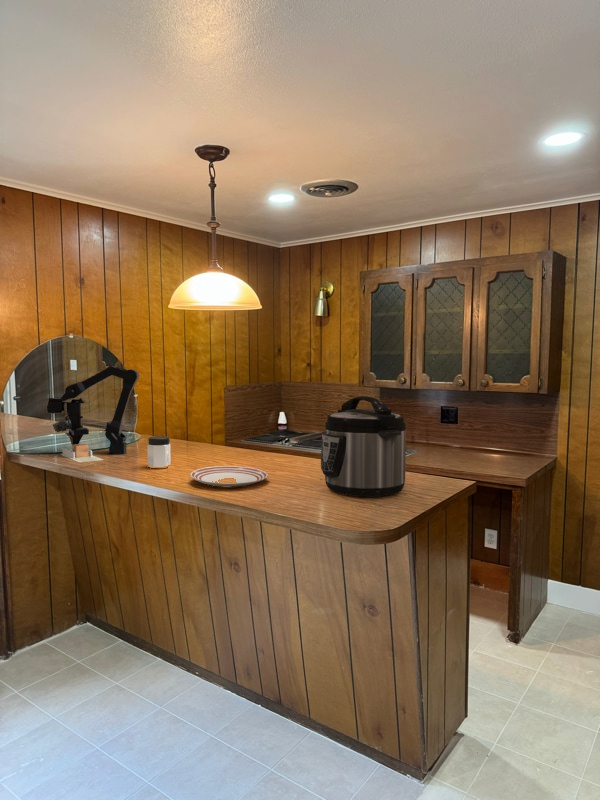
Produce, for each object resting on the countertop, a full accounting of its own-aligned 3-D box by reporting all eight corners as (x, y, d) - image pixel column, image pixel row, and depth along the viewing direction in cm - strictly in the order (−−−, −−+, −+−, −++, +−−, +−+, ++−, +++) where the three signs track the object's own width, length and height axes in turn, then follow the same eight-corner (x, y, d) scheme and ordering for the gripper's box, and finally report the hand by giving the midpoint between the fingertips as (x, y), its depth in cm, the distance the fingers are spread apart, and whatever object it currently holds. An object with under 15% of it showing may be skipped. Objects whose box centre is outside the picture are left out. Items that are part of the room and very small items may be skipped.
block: (72, 456, 236) (72, 444, 235) (84, 455, 239) (84, 443, 238) (76, 457, 232) (76, 446, 231) (88, 456, 235) (88, 445, 235)
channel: (59, 457, 240) (59, 448, 240) (83, 455, 247) (83, 446, 247) (79, 466, 222) (79, 456, 222) (103, 463, 229) (103, 453, 229)
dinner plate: (282, 479, 203) (282, 470, 202) (236, 495, 179) (236, 485, 179) (223, 471, 216) (223, 463, 216) (173, 484, 193) (173, 475, 193)
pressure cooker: (324, 478, 204) (326, 393, 202) (402, 482, 201) (405, 394, 198) (316, 498, 175) (318, 398, 172) (407, 502, 171) (410, 400, 169)
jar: (163, 469, 217) (163, 439, 216) (144, 468, 219) (144, 438, 218) (173, 465, 225) (173, 436, 225) (155, 464, 227) (155, 435, 226)
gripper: (47, 412, 242) (48, 448, 243) (61, 416, 227) (62, 454, 229) (73, 411, 249) (74, 446, 250) (88, 415, 235) (89, 451, 236)
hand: (74, 449), depth 241 cm, fingers closed
